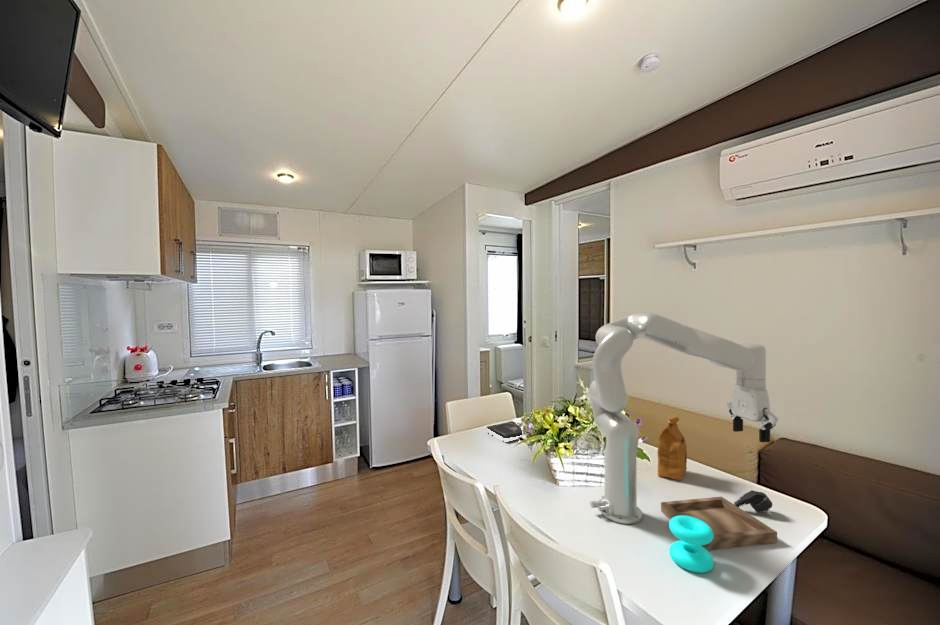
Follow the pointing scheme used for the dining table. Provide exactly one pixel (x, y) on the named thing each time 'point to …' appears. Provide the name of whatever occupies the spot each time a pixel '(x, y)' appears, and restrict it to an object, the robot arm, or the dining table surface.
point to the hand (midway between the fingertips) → (750, 436)
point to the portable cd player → (506, 429)
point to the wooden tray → (723, 522)
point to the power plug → (755, 501)
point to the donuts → (691, 543)
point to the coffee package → (672, 451)
